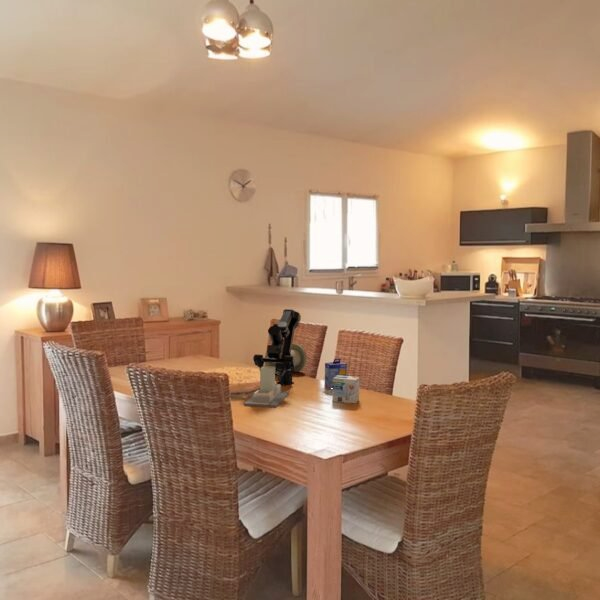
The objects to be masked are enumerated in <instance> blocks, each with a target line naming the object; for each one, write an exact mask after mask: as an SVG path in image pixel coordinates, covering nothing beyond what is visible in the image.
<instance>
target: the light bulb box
mask: <svg viewBox="0 0 600 600" xmlns="http://www.w3.org/2000/svg"><path fill="white" fill-rule="evenodd" d="M360 380H361V379H360V377H359V376H350V375H349V376H348V375H346V376H341V375H337V376H336V377H334V378H333V389H332V396H331V397H332V398H331V399H332V402H337V403H343V402H344V403H343V404H351V403H355V404H357V403H358V402H360ZM357 401H358V402H357Z"/></svg>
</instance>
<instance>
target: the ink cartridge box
mask: <svg viewBox="0 0 600 600" xmlns="http://www.w3.org/2000/svg"><path fill="white" fill-rule="evenodd" d="M341 360H342V358H333V361H331V362H325V363H324V388H325V389H327V388H328V390H332V389H331V388H333V378H334V377H336V376H337V375H341V376H347V373H348V372H347V371H348V363H346V362H344V361H343V362H342V361H341Z"/></svg>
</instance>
